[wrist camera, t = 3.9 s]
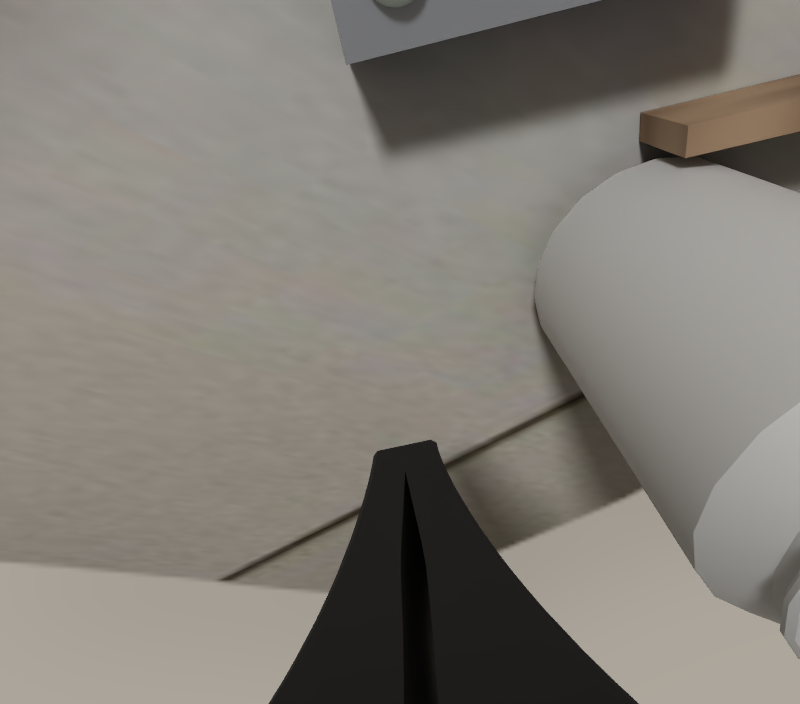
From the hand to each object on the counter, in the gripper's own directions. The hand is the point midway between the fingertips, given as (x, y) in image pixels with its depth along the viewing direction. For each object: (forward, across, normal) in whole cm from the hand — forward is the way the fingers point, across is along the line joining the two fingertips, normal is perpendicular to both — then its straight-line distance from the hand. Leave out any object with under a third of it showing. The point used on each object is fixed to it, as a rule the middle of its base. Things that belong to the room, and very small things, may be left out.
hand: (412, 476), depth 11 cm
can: (+8, -9, 0) cm, 12 cm away
